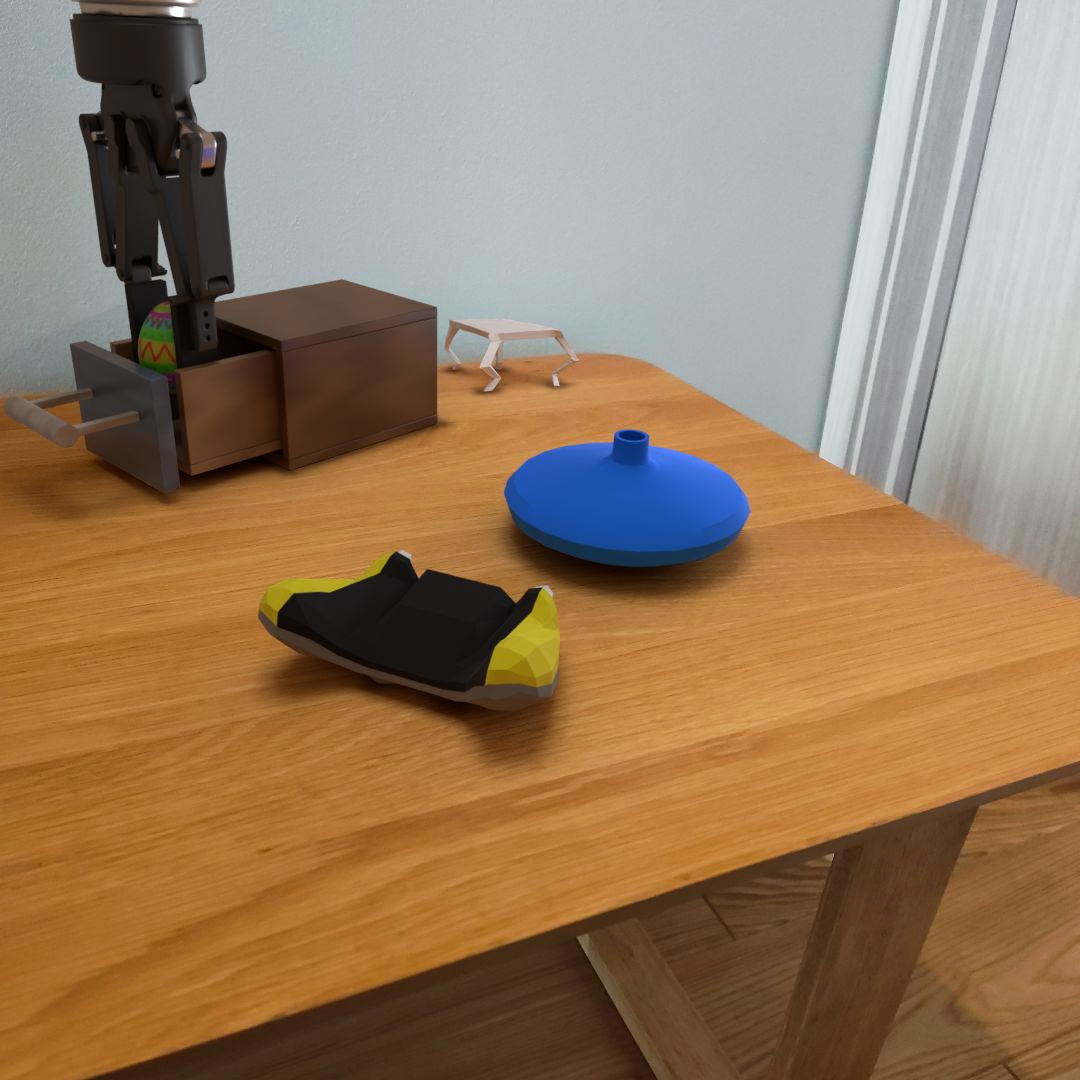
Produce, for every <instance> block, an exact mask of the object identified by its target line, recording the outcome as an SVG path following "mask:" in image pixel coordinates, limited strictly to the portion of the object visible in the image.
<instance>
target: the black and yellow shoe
mask: <svg viewBox="0 0 1080 1080" xmlns="http://www.w3.org/2000/svg"><path fill="white" fill-rule="evenodd" d="M412 556H413V555H412V554H411V553H409V552H407V551H406V550H404V549H401V550H399V551H397V550H395V551H392V552H389V553H385V554H382V555H381V556H379V557H378V558H377V559H376V560H374V562H372V564H370V565H369V567H368V568H366V569H365V570H364V571H363V572H362V573H361V574H359V576H358V577H356V578H284V579H282V580H281V581H279V582H275V584H272V585H270V586H268V587H267V588H266V590H265V592H264V593H263V595H262V597H261V598H260V600H259V606H258V615H257V618H258V620H259V621H260V623H261V625H262V626H263V627H264V629H265V630H266V631H267V633H268V634H269V635H270V636H272V637H273V638H275V639H276V640H277V641H278V642H280V643H281V644H283V645H284V646H286V647H287V648H289V649H291V650H293V651H294V652H296V653H297V654H299V655H303V656H306V657H307V656H308V657H310V658H313V659H314V658H315V659H318V660H321V661H325V662H329V663H332V664H335V665H337V666H340V667H343V668H345V669H347V670H349V671H352V672H354V673H359V674H362V675H366V676H368V678H370V679H372V680H373V681H374V682H375V683H377V684H385V685H386V684H387V685H388V684H389V685H401V686H404V687H408V688H412V689H414V690H417V691H422V692H425V693H428V694H432V695H435V696H439V697H442V698H444V699H448V700H450V701H454V702H464V703H468V704H472V705H476V706H480V707H483V708H486V709H488V710H492V711H520V710H523V709H527V708H528V707H531V706H534V705H536V704H538V703H540V702H543V701H546V700H548V699H550V698H552V697H553V695H554V691H555V689H556V686H557V684H558V680H559V671H560V670H559V667H560V649H561V648H560V647H561V632H560V626H559V614H558V609H557V607H556V603H555V601H554V592H553V591H552V589H551V588H550V587H549V585H548V584H545V585H544V584H543V585H537V586H535V587H530V588H528V589H527V590H526V591H525V592H524V593H523V595H522V596H521V597H520V598H519V599H518V601H514V599H513V598H512V597H511V596H510V595H509V594H508V593H507V592H506V591H505V590H504V589H503V588H502V586H497V585H493V584H490V583H485V582H482V581H478V580H473V579H470V578H465V577H461V576H459V575H457V576H456V575H454V574H449V573H445V572H442V571H437V570H433V569H429V568H426V569H425V571H424V572H423V573H422V574H421V575H420V577H419V576H418V574H417V572H416V570H415V568H414V566H413V557H412Z"/></svg>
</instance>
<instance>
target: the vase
mask: <svg viewBox="0 0 1080 1080" xmlns="http://www.w3.org/2000/svg"><path fill="white" fill-rule="evenodd" d="M613 434H614V435H613V442H612V441H611V442H607V441H605V442H584V443H577V444H571V445H564V446H560V447H556V448H552V449H549V450H545V451H542V452H540V453H538V454H536V455H534V456H532V457H530V458H528V459H526V460H525V462H523V463H522V464H521V465H520V466H519V467H518V468H517V469H516V470H515V471H514V472H513V473H512V474H511V475H510V477H508V479H507V480H506V483H505V486H504V490H503V494H504V495H503V496H504V498H505V501H506V504H507V507H508V510H509V513H510V516H511V519H512V523H514V524H515V526H517V527H518V529H520V530H521V531H522V533H524V534H525V535H526V536H527V537H529V538H531V539H532V540H534V541H536V542H538V543H539V544H541V545H543V546H545V547H546V548H549V549H552V550H554V551H558V552H559V553H563V554H566V555H568V556H571V557H574V558H577V559H580V560H584V561H586V562H587V561H588V562H592V563H596V564H602V565H605V566H611V567H612V566H613V567H623V568H624V567H625V568H652V567H653V568H654V567H664V566H671V565H677V564H682V563H688V562H693V561H699V560H702V559H705V558H707V557H710V556H712V555H714V554H717V553H720V552H722V551H724V550H725V549H727V548H728V547H729V546H730V545H732V544H733V543H734V542H735V541H737V539H738V537H739V535H740V534H741V532H742V530H743V528H744V527H745V525H746V522H747V520H748V518H749V516H750V514H751V508H750V503H749V498H748V496H747V495H746V494H745V492H744V491H743V489H742V487H741V486H740V485H739V484H738V483H737V482H736V480H735V479H734V478H733V477H732V476H731V475H730V474H729V473H727V472H726V471H724V470H722V468H720V467H719V466H717V465H715V464H714V463H711V462H709V461H706V460H704V459H702V458H700V457H698V456H695V455H693V454H689V453H685V452H682V451H678V450H675V449H672V448H666V447H660V446H656V445H655V446H654V445H650V435H649V434H648V433H647V432H645V431H643V430H640V429H639V430H638V429H632V428H629V429H628V428H627V429H626V428H625V429H620V430H617V431H615V432H614V433H613Z"/></svg>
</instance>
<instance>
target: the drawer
mask: <svg viewBox="0 0 1080 1080" xmlns="http://www.w3.org/2000/svg"><path fill="white" fill-rule="evenodd" d="M216 328H217V327H216ZM216 333H217V338H218V343H217V350H218V361H213V362H209V363H204V364H200V365H195V366H191V367H186V368H182V369H177V370H174V375H175V384H176V392H177V394H169V389H168V380H167V377H166V376H164V375H162V374H160V373H157V372H155V371H153V370H151V369H148V368H146V367H144V366H142V365H139V364H137V363H135V362H134V355H133V347H132V340H131V337H129V338H125V339H120V340H119V339H118V340H114V341H110V342H109V348H110V350H108V349H106V348H103V347H102V346H99V345H96V344H94V343H92V342H90V341H88V340H83V341H77V342H71V343H69V348H70V354H71V361H72V367H73V373H74V379H75V386H76V387H75V388H76V389H75V390H72V391H68V392H63V393H59V394H58V393H57V394H55V395H50V396H49V395H48V396H45V397H41V398H36V399H32V400H27V399H25V398H23V397H22V396H19V395H13V396H10V397H9V398H8V399H6V400H5V402H4V404H3V412H4V414H5V415H6V417H8V418H10V419H12V420H13V421H15V422H16V423H19V424H20V425H22V426H24V427H25V428H27V429H29V430H31V431H32V432H34V433H36V434H38V435H39V436H41V437H43V438H45V439H46V440H48V441H50V442H51V443H53V444H55V445H57V446H59V447H60V448H62V449H63V448H64V449H67V448H71V447H72V446H74V445H75V444H76V443H77V441H78V439H79V437H81V436H82V437H83V436H84V443H85V449H86V450H87V451H88V452H90V453H92V454H93V455H96V457H99V458H101V459H102V460H104V461H106V462H108V463H110V464H111V465H113V466H115V467H116V468H119V469H120V470H122V471H124V472H126V473H127V474H129V475H131V476H133V477H135V478H136V479H138V480H140V481H142V482H143V483H145V484H147V485H148V486H150V487H152V488H154V489H155V490H158V491H159V492H161V493H162V494H167V493H171V492H173V491H177V490H180V489H181V483H180V474H179V471H182V472H184V473H185V474H187V475H189V476H197V475H199V474H203V473H206V472H210V471H213V470H217V469H219V468H223V467H225V466H226V467H227V466H229V465H233V464H236V463H239V462H242V461H246V460H249V459H252V458H256V457H260V456H259V455H263V454H266V453H269V452H273V451H276V450H279V449H282V437H281V422H280V408H279V393H278V379H277V365H276V349H273V348H270V347H268V346H265V345H262V344H260V343H257V342H254V341H252V340H249V339H246V338H244V337H241V336H238V335H236V334H233V333H230V332H228V331H225V330H222V329H220V328H217V332H216ZM77 402H78V407H79V412H80V418H81V423H78V424H71V423H69V422H67V421H66V420H64V419H62V418H60V417H58V416H56V415H54V414H53V413H51V412H49V411H47V410H46V409H50V408H56V407H59V406H64V405H68V404H72V403H77Z"/></svg>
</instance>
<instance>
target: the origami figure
mask: <svg viewBox="0 0 1080 1080" xmlns="http://www.w3.org/2000/svg"><path fill="white" fill-rule="evenodd" d="M448 323H449V325H448V326H449V327H448V329H447V333H446V336H445V342H444V347H443V348H444V351H445V352H446V353H447V354H448V355H449V356H450V358H451V359H452V360H453V361H454V362H455V365H454V366H453V367H452V368H451V370H452V371H457V370H458V369H459V368H460V367H461V366H462V362H461V361H460V360H459V359H458V357H457V356H456V354H455V353H454V352H453V351H452V350H451V345H452V342H453V340H454V337H455V336H456V335H457V334H458V332H459V330H461V331H463V332H467V333H471V334H474V335H477V336H480V337H483V338H486V339H489V342H490V343H489V345H488V347H487V348H486V351H485V353H484V355H483V357H482V359H481V361H480V363H479V365H478V367H479V368H480V370H481V371H483V372H484V373H486V374H487V375H488V376H490V377H491V378H492V379H491V380H490V381H489V382H488V384H486V386H485V387H484V388H483V392H492V391H494V389H495V388H496V387H497V386H498V383H499V382H500V380H502V377H501V376H500V374H499V373H498V372H497V371H496V370H502V367H503V362H504V341H519V340H535V339H549V338H554V339H555V340H556V342H557V343H558V344H559V345H560V346H561V347H562V348H563V350H564V351H565V352H566V354H567V355H568V356H569V357H570V358H571V359H569V360H568V361H567V362H565V363H564V364H562V365H561V366H560V367H558V368H557V369H555V370H554V371H552V372H550V377H551V382H552V385H553V386H554V387H560V382H559V376H558V374H560V373H562V372H563V371H566V370H567V369H568V368H570V367H571V366H573V365H575V364H576V363H578V362H579V361H580V360H579V358H578V356H577V355H576V353H575V351H574V349H573V348H572V347H571V345H570V344H569V342H568V341H567V339H566V337H565V336H564V334H563V332H562V331H561V330H560V329H557V328H553V327H550V326H545V325H541V324H537V323H533V322H527V321H521V320H520V321H519V320H513V319H506V318H505V319H504V318H500V317H493V318H458V319H449V320H448ZM494 358H495V365H494V367H493V366H492V363H493V361H494Z"/></svg>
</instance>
